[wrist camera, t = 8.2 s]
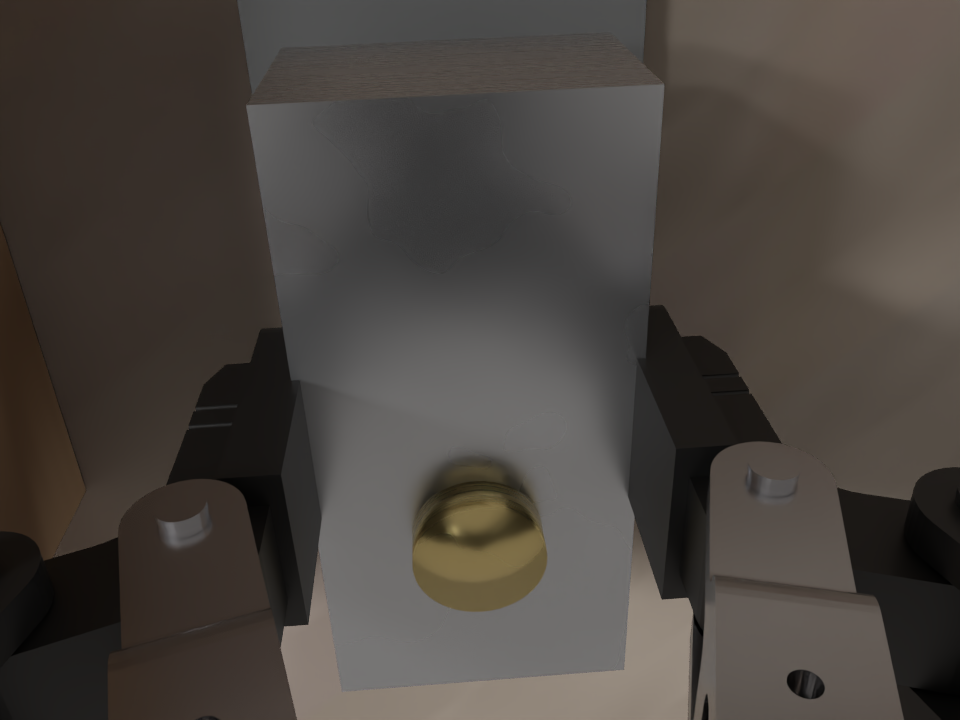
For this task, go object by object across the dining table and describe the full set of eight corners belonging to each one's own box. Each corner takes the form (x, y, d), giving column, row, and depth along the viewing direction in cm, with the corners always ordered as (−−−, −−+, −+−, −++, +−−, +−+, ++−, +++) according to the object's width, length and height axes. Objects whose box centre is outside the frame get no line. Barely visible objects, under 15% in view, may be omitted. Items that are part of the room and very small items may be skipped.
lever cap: (281, 47, 12) (236, 120, 9) (609, 32, 12) (678, 98, 9) (352, 557, 16) (338, 725, 13) (590, 540, 17) (631, 700, 14)
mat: (240, -11, 13) (235, -8, 13) (642, -29, 14) (648, -26, 13) (322, 514, 18) (321, 527, 18) (614, 494, 19) (618, 506, 18)
